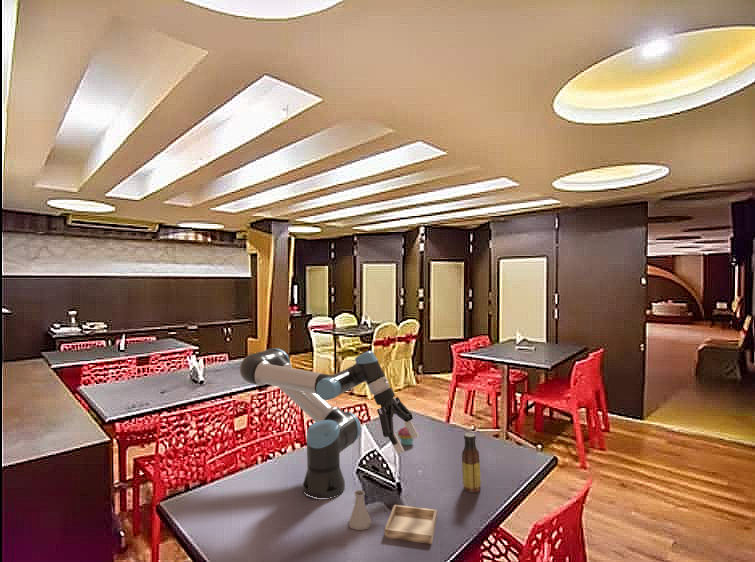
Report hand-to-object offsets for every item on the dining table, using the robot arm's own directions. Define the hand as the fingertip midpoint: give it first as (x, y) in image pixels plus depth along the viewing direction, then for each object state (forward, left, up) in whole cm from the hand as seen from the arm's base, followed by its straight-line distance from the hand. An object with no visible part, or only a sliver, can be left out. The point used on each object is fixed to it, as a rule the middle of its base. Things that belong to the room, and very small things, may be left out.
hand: (408, 444), depth 158 cm
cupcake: (-8, +40, -16) cm, 44 cm away
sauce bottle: (+22, +4, -16) cm, 28 cm away
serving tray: (+5, -24, -16) cm, 29 cm away
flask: (-11, -26, -16) cm, 32 cm away
